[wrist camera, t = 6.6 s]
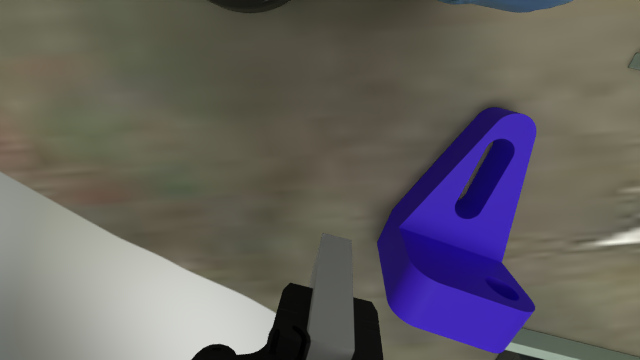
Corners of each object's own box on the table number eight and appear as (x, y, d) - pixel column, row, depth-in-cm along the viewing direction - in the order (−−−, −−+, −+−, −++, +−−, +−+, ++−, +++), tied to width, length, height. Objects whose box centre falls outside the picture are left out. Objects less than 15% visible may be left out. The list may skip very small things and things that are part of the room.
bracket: (464, 271, 37) (515, 360, 26) (377, 242, 36) (390, 318, 25) (552, 127, 31) (669, 161, 19) (448, 89, 30) (508, 102, 19)
